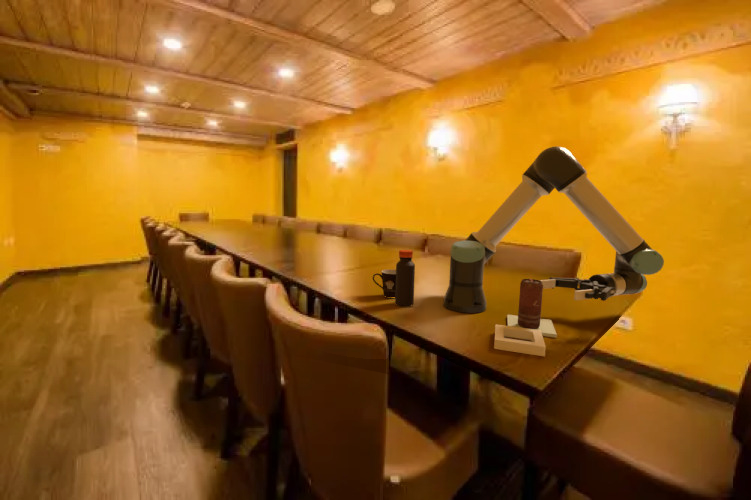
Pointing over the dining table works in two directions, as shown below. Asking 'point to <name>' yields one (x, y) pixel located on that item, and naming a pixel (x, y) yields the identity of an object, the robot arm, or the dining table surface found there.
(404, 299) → the bottle
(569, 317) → the dining table surface
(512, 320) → the rubber mat
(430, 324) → the dining table surface
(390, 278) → the coffee mug
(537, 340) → the cup holder
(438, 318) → the dining table surface
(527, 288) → the can
